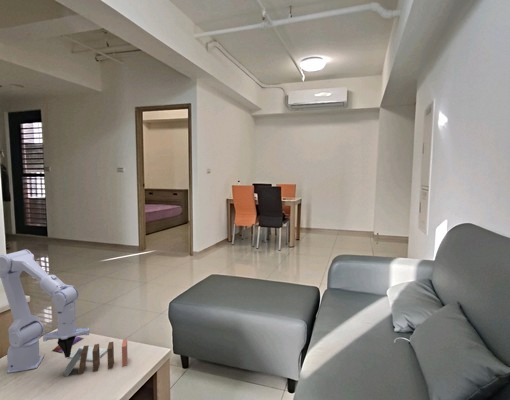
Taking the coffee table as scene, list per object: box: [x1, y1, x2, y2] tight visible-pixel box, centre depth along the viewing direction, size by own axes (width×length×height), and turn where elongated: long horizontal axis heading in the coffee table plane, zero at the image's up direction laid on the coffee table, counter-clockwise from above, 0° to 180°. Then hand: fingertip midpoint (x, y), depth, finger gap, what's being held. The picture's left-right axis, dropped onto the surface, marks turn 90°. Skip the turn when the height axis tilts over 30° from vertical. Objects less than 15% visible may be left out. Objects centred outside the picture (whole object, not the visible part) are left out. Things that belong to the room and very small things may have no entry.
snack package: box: [52, 336, 84, 353], centre depth 132 cm, size 12×2×5 cm
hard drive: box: [67, 345, 107, 363], centre depth 125 cm, size 2×8×12 cm
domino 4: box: [106, 341, 115, 370], centre depth 118 cm, size 2×5×8 cm, turn 19°
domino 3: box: [92, 343, 101, 373], centre depth 116 cm, size 2×5×8 cm, turn 19°
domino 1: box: [63, 347, 83, 377], centre depth 114 cm, size 2×5×8 cm
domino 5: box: [121, 339, 128, 368], centre depth 120 cm, size 2×5×8 cm, turn 19°
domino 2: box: [77, 345, 90, 375], centre depth 115 cm, size 2×5×8 cm, turn 19°
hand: (67, 355), depth 113 cm, fingers closed
